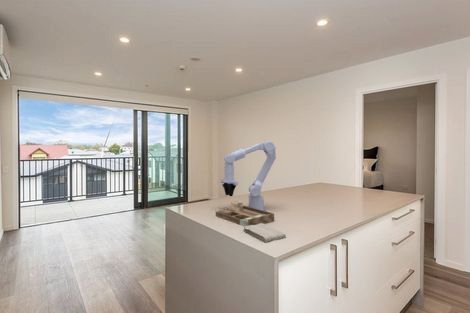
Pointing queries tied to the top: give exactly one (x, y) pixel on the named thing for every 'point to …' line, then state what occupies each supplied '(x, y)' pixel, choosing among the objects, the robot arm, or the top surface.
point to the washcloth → (264, 232)
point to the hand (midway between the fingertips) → (229, 195)
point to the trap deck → (246, 216)
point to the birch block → (236, 205)
